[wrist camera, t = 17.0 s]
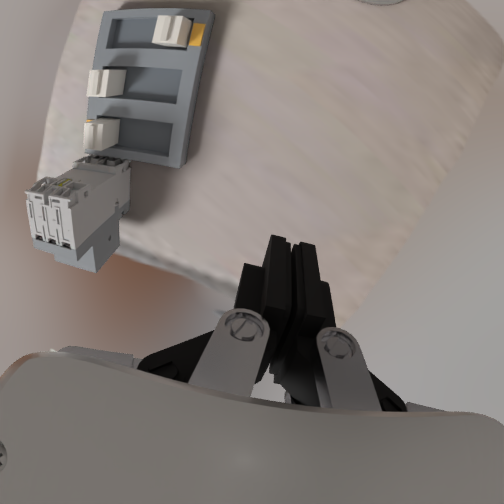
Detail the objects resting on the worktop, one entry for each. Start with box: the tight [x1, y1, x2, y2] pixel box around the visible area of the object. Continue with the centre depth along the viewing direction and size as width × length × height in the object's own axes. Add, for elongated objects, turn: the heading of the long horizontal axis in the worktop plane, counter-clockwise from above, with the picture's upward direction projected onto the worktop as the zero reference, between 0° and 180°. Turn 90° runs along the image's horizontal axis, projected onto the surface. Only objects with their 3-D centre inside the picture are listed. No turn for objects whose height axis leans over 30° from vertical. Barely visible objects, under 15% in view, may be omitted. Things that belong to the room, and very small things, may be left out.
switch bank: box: [85, 8, 215, 169], centre depth 32 cm, size 21×15×3 cm
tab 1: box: [87, 70, 127, 97], centre depth 30 cm, size 4×3×5 cm
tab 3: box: [152, 15, 193, 48], centre depth 26 cm, size 4×3×5 cm
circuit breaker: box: [25, 154, 131, 273], centre depth 37 cm, size 8×14×15 cm, turn 169°
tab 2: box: [83, 118, 120, 151], centre depth 33 cm, size 4×3×5 cm
